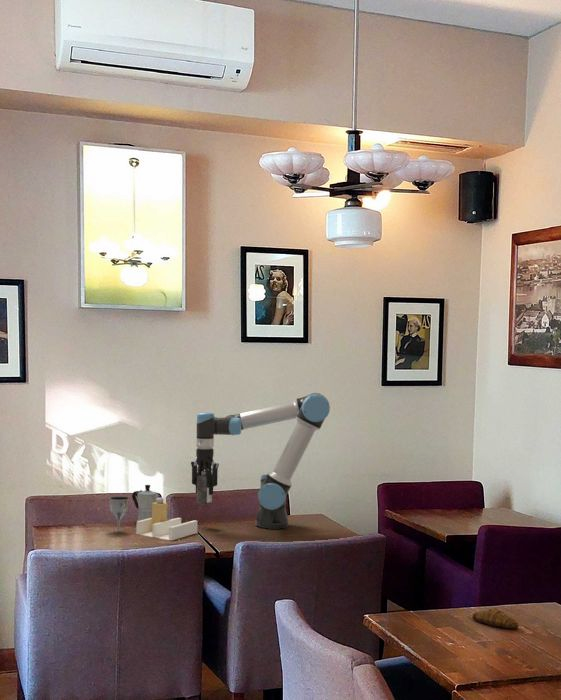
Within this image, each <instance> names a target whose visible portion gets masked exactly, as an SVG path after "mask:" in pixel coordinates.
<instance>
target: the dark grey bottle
mask: <svg viewBox="0 0 561 700" xmlns="http://www.w3.org/2000/svg"><path fill="white" fill-rule="evenodd" d="M207 487H208V481H207V475H206V472H205V470H204V471H201V475H200V476H197V493H196V505H197V504H200V505H205V506H206V505H209V504H212V502H209V503H207Z"/></svg>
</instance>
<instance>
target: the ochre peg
mask: <svg viewBox="0 0 561 700" xmlns="http://www.w3.org/2000/svg"><path fill="white" fill-rule="evenodd" d="M164 499H165V498H164V497H157V498H156V503H152V526H151V532H152V531H153V524H156V523H159V522H163V521H167V520H168V502H165V501H164Z"/></svg>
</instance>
